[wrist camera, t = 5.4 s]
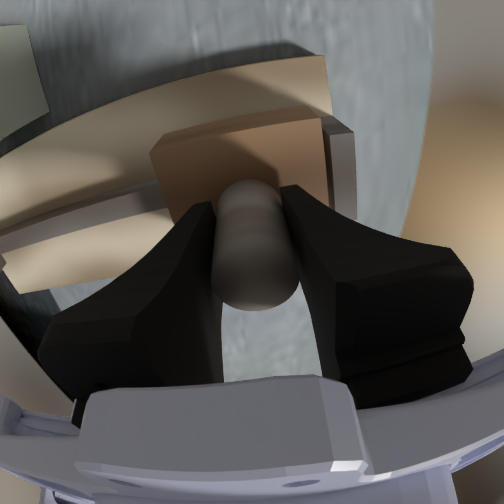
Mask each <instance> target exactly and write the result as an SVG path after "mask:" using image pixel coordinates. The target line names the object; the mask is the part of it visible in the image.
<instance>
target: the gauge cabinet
mask: <svg viewBox="0 0 504 504" xmlns="http://www.w3.org/2000/svg"><path fill="white" fill-rule="evenodd" d="M48 112H50V110H49V107H48V104H47V101H46V98H45V95H44V91H43V88H42V85H41V81H40V78H39V74H38V71H37V67H36V63H35V59H34V55H33V51H32V47H31V43H30V38H29V34H28V29H27V24H26V25H8V26H0V141H1V140H2V139H4V138H6V137H7V136H9V135H10V134H12V133H13V132H15V131H17V130H18V129H20V128H22V127H23V126H25V125H27V124H28V123H30V122H32V121H34V120H35V119H37V118H39V117H41V116H43V115H45V114H46V113H48Z"/></svg>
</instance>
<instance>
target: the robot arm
mask: <svg viewBox="0 0 504 504" xmlns="http://www.w3.org/2000/svg"><path fill="white" fill-rule="evenodd" d="M279 189H280V195H281V201H282V207H283V211H284V215H285V218H286V222H287V225H288V229H289V233H290V236H291V240H292V244H293V248H294V252H295V256H296V260H297V264H298V268H299V272H300V283H301V286H302V289H303V292H304V295H305V298H306V301H307V304H308V307H309V311H310V315H311V319H312V324H313V329H314V333H315V338H316V343H317V349H318V354H319V359H320V364H321V370H322V376H323V377H321V376H317V375H313V374H312V375H292V376H273V377H266V378H259V379H251V380H243V381H235V382H225V383H224V375H223V361H222V341H221V318H222V306H223V301H222V300H220V299H219V298H218V297H217V295H216V294H215V292H214V290H213V288H212V285H211V271H212V259H213V248H214V237H215V226H216V217H215V213H214V210H213V206H212V203H211V200H210V201H205V202H201V203H196V204H194V205H192V206H191V207H190V208H189V209H188V210H187V212H186V213H185V214H184V215H183V216H182V217H181V218H180V219H179V221H178V222H177V223H176V224H175V225H174V226H173V227H172V228H171V230H170V231H169V232H168V233H167V234H166V235H165V236H164V237H163V238H162V239H161V240H160V241H159V242H158V243H157V244H156V245H155V246H154V247H153V248H152V249H151V250H150V251H149V252H148V253H147V254H146V255H145V256H144V257H143V258H141V259H140V260H139V261H138V262H137V263H136V264H134V265H133V266H132V267H131V268H130V269H128V270H127V271H126V272H124V273H123V274H121V275H120V276H119V277H117V278H116V279H115V280H113V281H112V282H111V283H109V284H108V285H106V286H105V287H103V288H102V289H100V290H99V291H97V292H96V293H94V294H92V295H91V296H89V297H87V298H86V299H84V300H82V301H81V302H79V303H77V304H75V305H73V306H71V307H69V308H67V309H65V310H63V311H62V312H60V313H58V314H56V315H53V316H52V318H51V320H50V323H49V325H48V327H47V330H46V332H45V334H44V337H43V339H42V341H41V344H40V346H39V349H38V352H37V353H38V359H39V361H40V363H41V365H42V366H43V368H44V370H45V371H46V372H47V373H48V374H49V375H50V376H51V377H52V378H53V379H54V380H55V381H56V382H57V383H58V384H59V385H60V386H61V387H63V388H64V389H65V390H66V391H67V392H68V393H69V394H71V395H72V396H73V397H74V398H75V401H74V405H73V409H72V413H71V417H65V416H58V415H52V414H45V413H40V412H34V411H29V410H24V409H22V408H21V407H20V406H19V405H18V404H17V403H16V402H14V401H13V400H12V399H10V398H8V397H6V396H4V395H0V468H2V469H4V470H6V471H8V472H9V473H11V474H13V475H15V476H17V477H19V478H21V479H24V480H26V481H29V482H32V483H34V484H36V485H39V486H40V488H41V493H40V502H39V504H458V501H457V497H456V492H455V488H454V484H453V480H452V476H451V473H453V472H455V471H457V470H459V469H461V468H463V467H465V466H467V465H469V464H471V463H473V462H475V461H477V460H478V459H480V458H482V457H484V456H486V455H488V454H489V453H491V452H493V451H494V450H496V449H498V448H499V447H501V446H503V445H504V349H502V350H500V351H498V352H496V353H493V354H491V355H489V356H487V357H484V358H482V359H480V360H478V361H475V362H473V363H471V362H470V360H469V358H468V356H467V354H466V352H465V350H464V348H463V346H462V344H464V342H465V336H464V335H463V333H462V331H461V329H460V325H461V323H462V321H463V319H464V316H465V314H466V312H467V309H468V307H469V304H470V302H471V298H472V295H473V291H474V282H473V279H472V277H471V275H470V273H469V272H468V270H467V269H466V267H465V266H464V265H463V263H462V262H461V261H460V259H459V258H458V257H457V255H456V254H455V253H454V252H453V251H452V249H451V248H447V247H441V246H435V245H430V244H424V243H419V242H414V241H411V240H407V239H403V238H399V237H395V236H392V235H389V234H386V233H383V232H380V231H377V230H375V229H372V228H369V227H367V226H364V225H362V224H360V223H358V222H356V221H353V220H351V219H349V218H347V217H345V216H343V215H341V214H340V213H338V212H336V211H335V210H333V209H331V208H330V207H328V206H326V205H325V204H323V203H322V202H320V201H319V200H317V199H316V198H315V197H313V196H312V195H310V194H309V193H308V192H306V191H305V190H304V189H303V188H301V187H300V186H298V185H297V184H294V185H288V186H283V187H279Z"/></svg>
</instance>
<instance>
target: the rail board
mask: <svg viewBox="0 0 504 504" xmlns="http://www.w3.org/2000/svg"><path fill="white" fill-rule="evenodd" d="M302 105H306V106H307V107H308V108H310V109H311V110H312V111H313V112H314V113H315V114H317V115H318V116H319V117H320V118H321V126H322V134H323V144H324V153H325V164H326V175H327V187H328V201H329V207H330V208H331V209H333V210H335V211H336V212H338V213H340V214H341V215H343V216H345V217H347V218H349V219H351V220H355V219H357V183H356V158H355V140H354V132H353V131H351V130H350V129H349V128H348V127H346V126H345V125H344V124H342V123H341V122H340V121H339V120H337V119H336V118H335V117H333V116H332V108H331V100H330V92H329V84H328V77H327V70H326V63H325V57H324V55H309V56H299V57H290V58H283V59H275V60H268V61H262V62H256V63H250V64H245V65H239V66H234V67H229V68H224V69H220V70H215V71H211V72H207V73H203V74H199V75H195V76H191V77H187V78H183V79H180V80H176V81H173V82H169V83H166V84H163V85H159V86H156V87H153V88H150V89H147V90H144V91H141V92H138V93H135V94H132V95H129V96H126V97H124V98H121V99H118V100H116V101H113V102H110V103H108V104H105V105H103V106H100V107H98V108H96V109H93V110H91V111H88V112H86V113H84V114H82V115H79V116H77V117H75V118H73V119H70V120H68V121H66V122H64V123H62V124H60V125H58V126H56V127H54V128H52V129H50V130H48V131H46V132H44V133H42V134H40V135H38V136H36V137H34V138H33V139H31V140H29V141H27V142H25V143H23V144H22V145H20V146H18V147H16V148H15V149H13V150H11V151H10V152H8V153H6V154H5V155H3V156H1V157H0V272H1V270H2V269H3V271H4V272H5V274H6V275H7V277H8V278H9V280H10V281H11V283H12V284H13V285H14V287H15V288H16V290H17V291H18V292H19V294H22V293H27V292H33V291H38V290H44V289H49V288H55V287H60V286H66V285H72V284H77V283H83V282H88V281H94V280H99V279H105V278H110V277H116V276H120V275H121V274H123V273H124V272H126V271H127V270H128V269H130V268H131V267H132V266H133V265H134V264H136V263H137V262H138V261H139V260H140V259H141V258H143V257H144V256H145V255H146V254H147V253H148V252H149V251H150V250H151V249H152V248H153V247H154V246H155V245H156V244H157V243H158V242H159V241H160V240H161V239H162V238H163V237H164V236H165V235H166V234H167V233H168V232H169V231H170V230H171V228H172V227H173V226H174V223H173V221H172V218H171V215H170V213H169V210H168V207H167V205H166V202H165V199H164V196H163V194H162V191H161V188H160V185H159V182H158V179H157V177H156V174H155V171H154V168H153V165H152V162H151V159H150V156H149V152H150V151H151V149H152V148H153V147H154V146H155V144H156V143H157V142H158V140H159V139H160V138H161V137H162V135H163V134H166V133H170V132H173V131H177V130H181V129H185V128H189V127H193V126H197V125H201V124H205V123H209V122H213V121H218V120H222V119H227V118H232V117H237V116H242V115H247V114H252V113H258V112H263V111H269V110H275V109H282V108H288V107H295V106H302Z"/></svg>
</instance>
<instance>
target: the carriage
mask: <svg viewBox="0 0 504 504" xmlns="http://www.w3.org/2000/svg"><path fill="white" fill-rule="evenodd" d="M149 156H150V159H151V162H152V165H153V168H154V171H155V174H156V177H157V179H158V182H159V185H160V188H161V191H162V194H163V196H164V199H165V202H166V205H167V207H168V210H169V213H170V215H171V218H172V221H173V223H174V225H175V224H176V223H177V222H178V221H179V219H180V218H181V217H182V216H183V215H184V214H185V213H186V212H187V210H188V209H189V208H190V207H191V206H192V205H194V204H196V203H201V202H205V201H210V200H211V203H212V206H213V210H214V213H215V217H216V226H215V237H214V248H213V259H212V271H211V285H212V288H213V290H214V292H215V294H216V295H217V297H218V298H219V299H220V300H222V301H223V302H224V303H226V304H227V305H229V306H231V307H234V308H236V309H240V310H245V311H261V310H267V309H270V308H273V307H276V306H278V305H280V304H282V303H283V302H285V301H286V300H288V299H289V298H290V297H291V296H292V295H293V293H294V292H295V291H296V289H297V287H298V284H299V280H300V272H299V268H298V264H297V260H296V256H295V252H294V248H293V244H292V240H291V236H290V233H289V229H288V225H287V222H286V218H285V215H284V211H283V207H282V201H281V195H280V189H279V187H283V186H288V185H294V184H297V185H298V186H300V187H301V188H303V189H304V190H305V191H306V192H308V193H309V194H310V195H312V196H313V197H315V198H316V199H317V200H319V201H320V202H322V203H323V204H325V205H326V206H328V207H329V201H328V187H327V175H326V164H325V153H324V144H323V134H322V126H321V118H320V117H319V116H318V115H317V114H315V113H314V112H313V111H312V110H311V109H310V108H308V107H307V106H306V105H302V106H295V107H288V108H282V109H275V110H269V111H263V112H258V113H252V114H247V115H242V116H237V117H232V118H227V119H222V120H218V121H213V122H209V123H205V124H201V125H197V126H193V127H189V128H185V129H181V130H177V131H173V132H170V133H166V134H163V135H162V137H161V138H160V139H159V140H158V142H157V143H156V144H155V146H154V147H153V148H152V149H151V151H150V152H149Z"/></svg>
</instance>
